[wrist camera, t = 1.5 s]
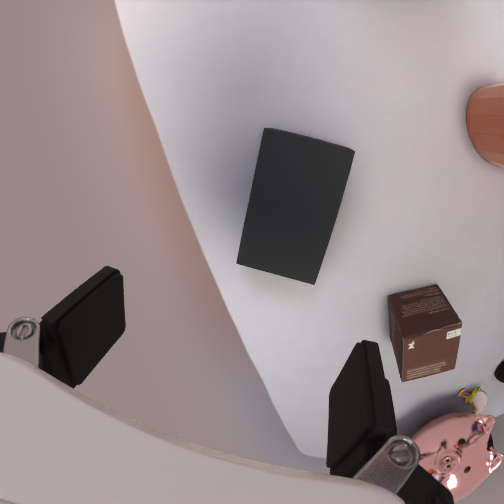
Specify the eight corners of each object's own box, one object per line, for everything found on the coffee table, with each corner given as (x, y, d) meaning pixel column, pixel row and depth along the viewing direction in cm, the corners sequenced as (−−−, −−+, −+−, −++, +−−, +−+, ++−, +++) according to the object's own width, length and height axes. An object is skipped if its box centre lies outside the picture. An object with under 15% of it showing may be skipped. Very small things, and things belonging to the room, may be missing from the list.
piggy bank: (379, 433, 31) (488, 385, 25) (405, 434, 41) (483, 399, 35) (392, 530, 20) (511, 488, 14) (416, 504, 31) (499, 472, 24)
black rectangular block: (270, 127, 25) (264, 127, 22) (349, 148, 24) (355, 151, 21) (244, 248, 30) (236, 263, 27) (314, 267, 29) (314, 285, 26)
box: (388, 337, 31) (399, 383, 24) (387, 294, 29) (401, 338, 22) (436, 327, 29) (455, 369, 22) (438, 283, 27) (463, 323, 20)
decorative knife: (495, 403, 32) (472, 420, 34) (494, 401, 32) (472, 418, 34) (474, 382, 30) (448, 402, 32) (473, 379, 31) (447, 400, 33)
